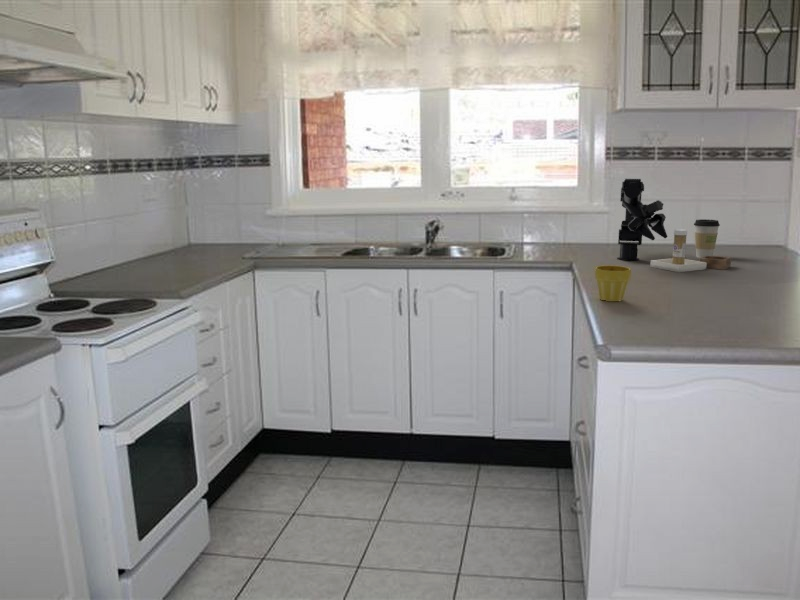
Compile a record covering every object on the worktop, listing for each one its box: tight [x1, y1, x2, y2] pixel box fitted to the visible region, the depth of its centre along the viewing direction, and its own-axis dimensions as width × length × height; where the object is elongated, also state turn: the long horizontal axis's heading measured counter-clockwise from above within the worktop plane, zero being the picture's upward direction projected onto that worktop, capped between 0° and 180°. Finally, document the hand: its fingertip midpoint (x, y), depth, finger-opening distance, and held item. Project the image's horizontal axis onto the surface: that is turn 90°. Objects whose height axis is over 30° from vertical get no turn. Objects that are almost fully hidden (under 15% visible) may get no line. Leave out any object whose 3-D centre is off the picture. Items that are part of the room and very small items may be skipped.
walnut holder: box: [699, 255, 732, 271], centre depth 292 cm, size 9×9×4 cm
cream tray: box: [649, 257, 707, 273], centre depth 290 cm, size 14×14×2 cm
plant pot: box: [594, 264, 632, 302], centre depth 232 cm, size 10×10×10 cm
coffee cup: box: [693, 218, 721, 259], centre depth 316 cm, size 10×10×15 cm
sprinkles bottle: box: [672, 228, 688, 265], centre depth 289 cm, size 5×5×14 cm
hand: (660, 238), depth 294 cm, fingers open, 9 cm apart
